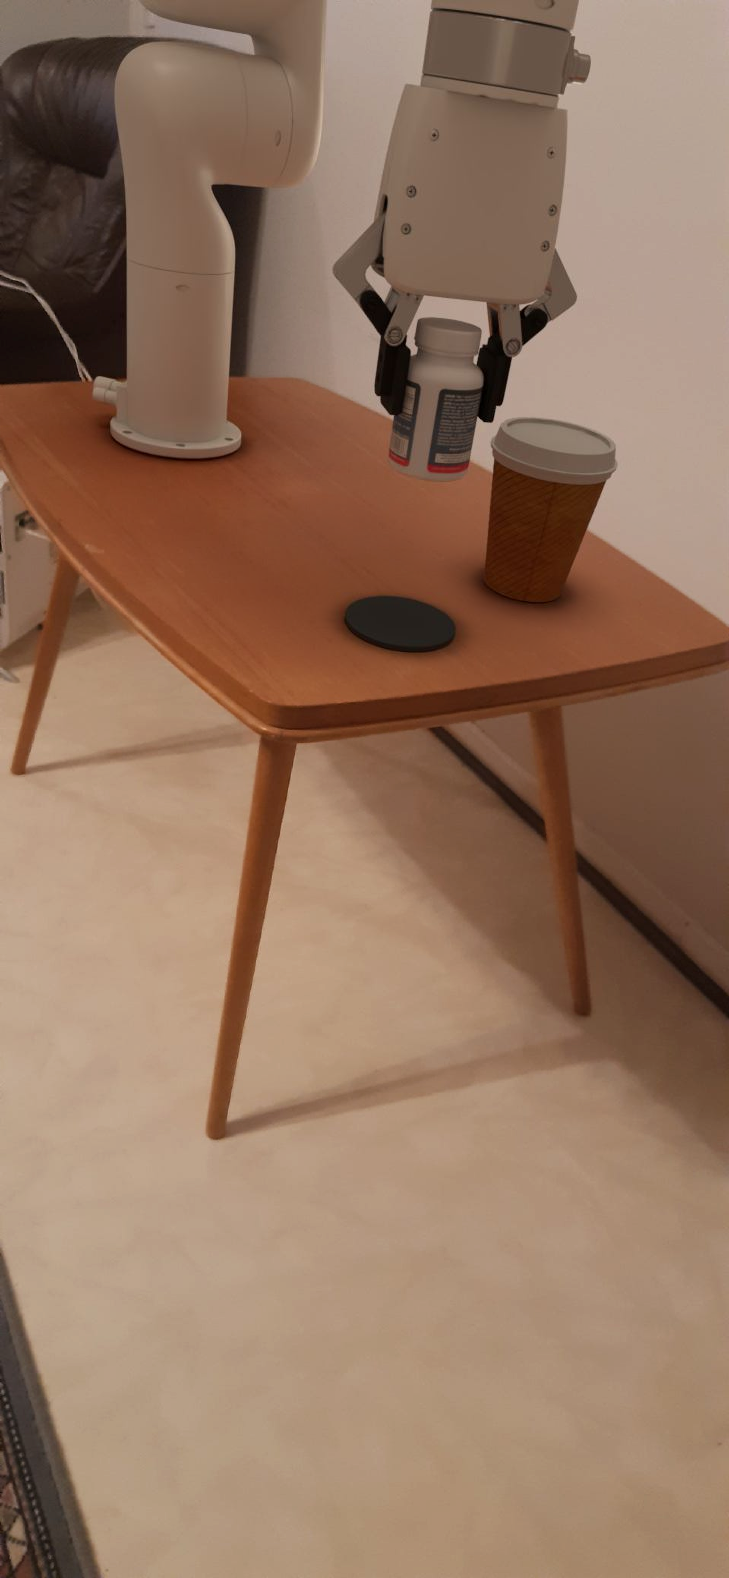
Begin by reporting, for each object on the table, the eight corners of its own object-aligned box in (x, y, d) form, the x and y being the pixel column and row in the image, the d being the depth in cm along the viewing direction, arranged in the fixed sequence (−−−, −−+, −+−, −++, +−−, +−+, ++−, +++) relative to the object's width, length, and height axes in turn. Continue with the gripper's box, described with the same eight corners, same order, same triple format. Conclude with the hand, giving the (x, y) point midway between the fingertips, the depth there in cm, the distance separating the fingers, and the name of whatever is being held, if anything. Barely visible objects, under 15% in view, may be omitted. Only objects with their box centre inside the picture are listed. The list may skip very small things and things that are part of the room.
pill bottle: (474, 469, 69) (502, 327, 64) (455, 490, 64) (483, 340, 59) (400, 451, 70) (421, 310, 65) (376, 470, 65) (397, 322, 60)
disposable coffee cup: (493, 551, 87) (524, 407, 81) (597, 587, 84) (639, 440, 77) (443, 584, 80) (472, 429, 74) (554, 624, 77) (596, 466, 70)
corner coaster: (328, 633, 71) (329, 627, 71) (364, 591, 77) (364, 586, 77) (439, 662, 69) (440, 657, 69) (465, 617, 76) (467, 613, 76)
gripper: (612, 87, 60) (540, 406, 70) (324, 38, 55) (293, 385, 66) (669, 93, 54) (581, 441, 64) (351, 40, 50) (313, 421, 60)
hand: (436, 409), depth 65 cm, fingers closed on pill bottle, 5 cm apart
